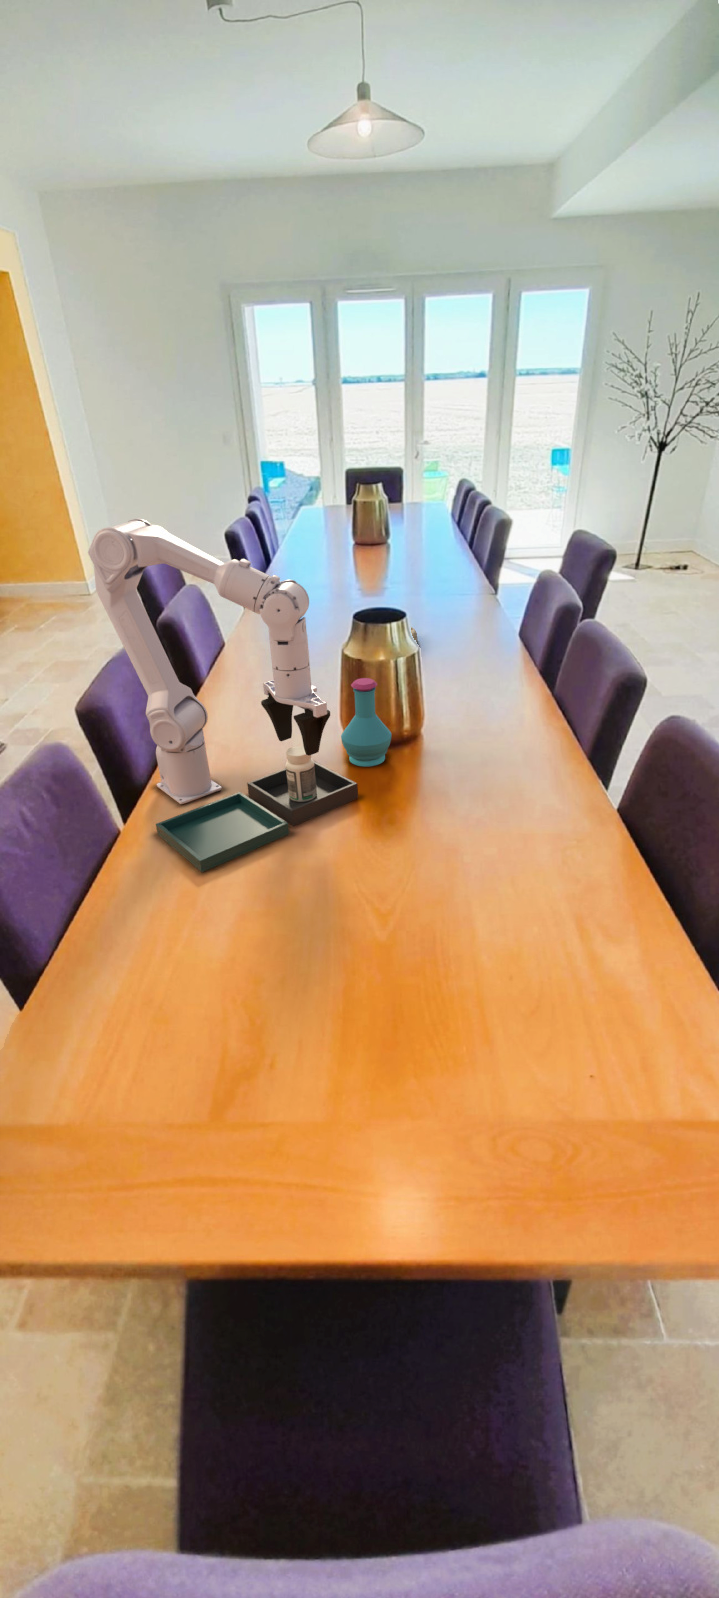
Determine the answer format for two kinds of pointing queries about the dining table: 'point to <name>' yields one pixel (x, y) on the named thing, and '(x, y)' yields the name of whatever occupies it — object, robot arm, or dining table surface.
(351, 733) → the perfume bottle
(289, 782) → the pill bottle
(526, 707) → the dining table surface
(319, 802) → the bin
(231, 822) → the tray
